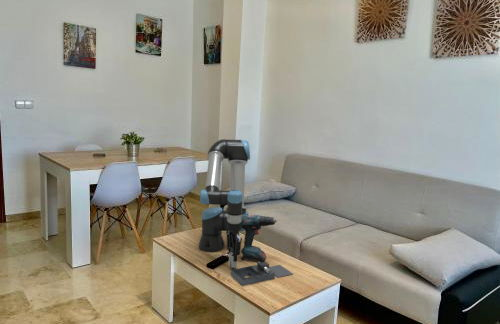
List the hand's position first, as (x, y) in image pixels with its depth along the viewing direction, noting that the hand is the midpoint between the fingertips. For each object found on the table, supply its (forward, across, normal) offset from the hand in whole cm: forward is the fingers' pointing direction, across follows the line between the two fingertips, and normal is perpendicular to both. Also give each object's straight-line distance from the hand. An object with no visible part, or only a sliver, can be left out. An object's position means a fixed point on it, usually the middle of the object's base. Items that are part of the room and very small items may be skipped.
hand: (232, 265), depth 197 cm
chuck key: (+2, 0, 0) cm, 2 cm away
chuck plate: (+2, +12, +5) cm, 13 cm away
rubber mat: (+2, +12, +20) cm, 24 cm away
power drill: (+2, -7, +17) cm, 18 cm away
